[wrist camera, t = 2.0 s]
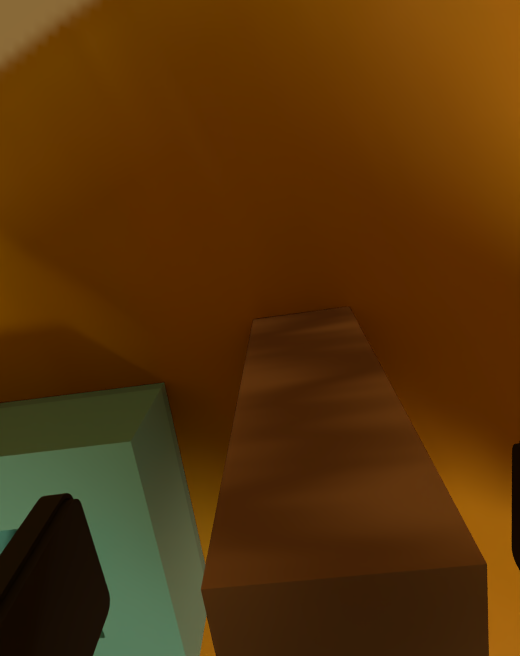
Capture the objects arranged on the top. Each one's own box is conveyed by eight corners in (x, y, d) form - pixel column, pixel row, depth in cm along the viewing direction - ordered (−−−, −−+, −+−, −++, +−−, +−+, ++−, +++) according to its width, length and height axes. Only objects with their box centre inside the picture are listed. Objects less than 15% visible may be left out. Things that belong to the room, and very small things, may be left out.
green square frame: (164, 382, 21) (130, 441, 17) (210, 589, 25) (193, 688, 20) (-79, 412, 22) (-176, 477, 18) (-3, 608, 26) (-68, 707, 21)
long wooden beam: (349, 306, 20) (486, 564, 7) (358, 394, 21) (491, 765, 8) (253, 319, 20) (200, 590, 7) (267, 405, 22) (244, 779, 8)
